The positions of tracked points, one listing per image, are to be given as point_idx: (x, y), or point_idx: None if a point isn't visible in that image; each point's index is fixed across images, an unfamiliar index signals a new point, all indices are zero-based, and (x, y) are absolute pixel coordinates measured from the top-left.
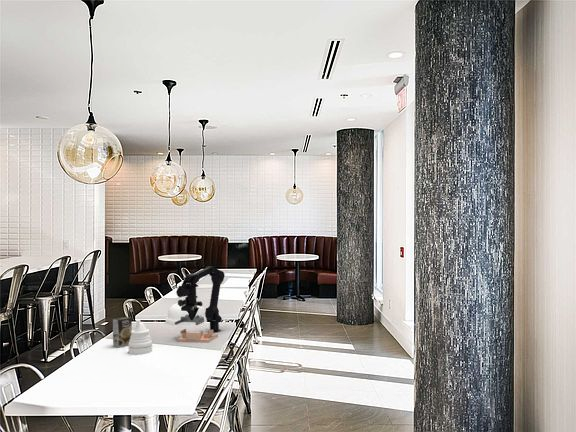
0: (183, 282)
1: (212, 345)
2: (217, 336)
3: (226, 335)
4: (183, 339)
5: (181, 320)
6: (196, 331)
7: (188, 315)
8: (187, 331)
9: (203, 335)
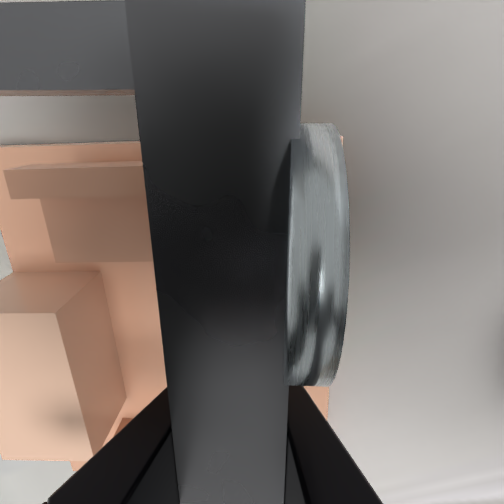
0: None
1: (12, 500)
2: None
3: None
4: (6, 238)
5: (101, 91)
6: (67, 413)
7: (285, 357)
8: None
9: None
